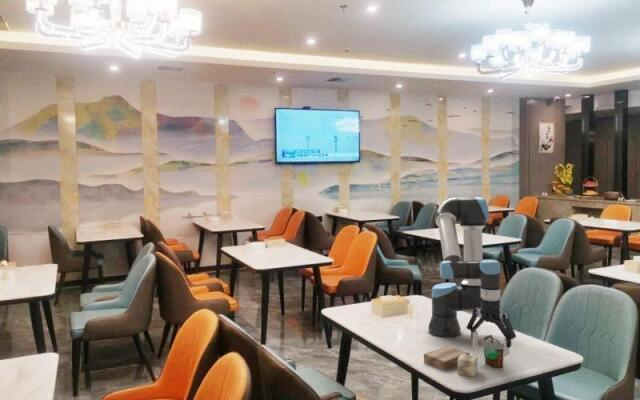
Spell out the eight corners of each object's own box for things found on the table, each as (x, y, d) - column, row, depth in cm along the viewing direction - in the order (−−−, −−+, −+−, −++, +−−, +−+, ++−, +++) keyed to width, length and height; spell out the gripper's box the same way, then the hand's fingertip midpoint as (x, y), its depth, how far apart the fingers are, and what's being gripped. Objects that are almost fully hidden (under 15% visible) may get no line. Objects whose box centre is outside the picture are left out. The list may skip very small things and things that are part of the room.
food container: (477, 358, 217) (477, 335, 217) (491, 358, 218) (491, 334, 217) (489, 370, 205) (489, 345, 204) (504, 369, 205) (504, 344, 205)
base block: (423, 363, 215) (423, 353, 214) (448, 355, 223) (448, 345, 223) (444, 371, 206) (444, 361, 206) (469, 362, 215) (469, 352, 214)
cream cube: (457, 374, 202) (457, 358, 202) (462, 368, 207) (462, 353, 207) (473, 377, 199) (473, 361, 199) (477, 371, 204) (477, 356, 204)
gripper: (457, 295, 216) (458, 346, 217) (515, 305, 198) (516, 361, 199) (467, 292, 221) (467, 342, 222) (524, 302, 203) (525, 356, 204)
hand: (490, 351), depth 211 cm, fingers open, 13 cm apart
